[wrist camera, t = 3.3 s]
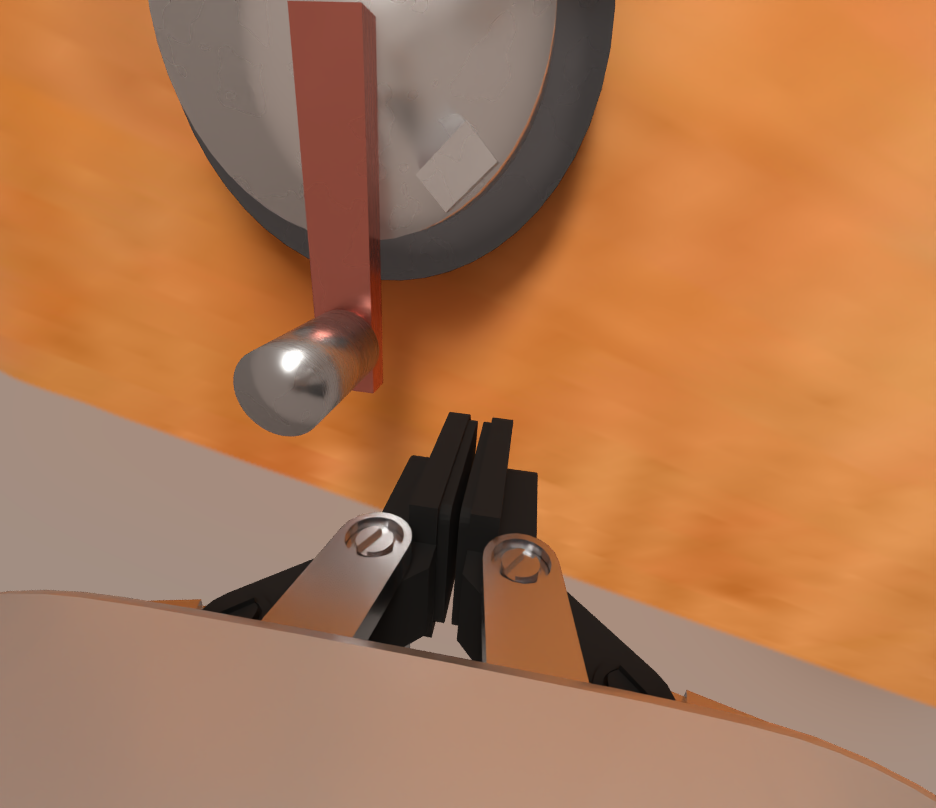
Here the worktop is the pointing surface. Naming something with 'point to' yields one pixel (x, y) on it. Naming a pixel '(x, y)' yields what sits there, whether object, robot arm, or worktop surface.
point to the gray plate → (526, 179)
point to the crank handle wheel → (352, 148)
